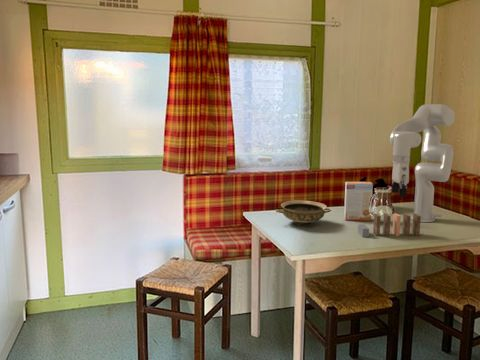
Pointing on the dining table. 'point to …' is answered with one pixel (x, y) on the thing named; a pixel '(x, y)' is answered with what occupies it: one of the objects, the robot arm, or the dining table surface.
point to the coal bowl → (379, 184)
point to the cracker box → (357, 201)
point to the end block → (363, 230)
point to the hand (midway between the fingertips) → (398, 194)
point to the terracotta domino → (396, 224)
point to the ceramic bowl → (303, 211)
